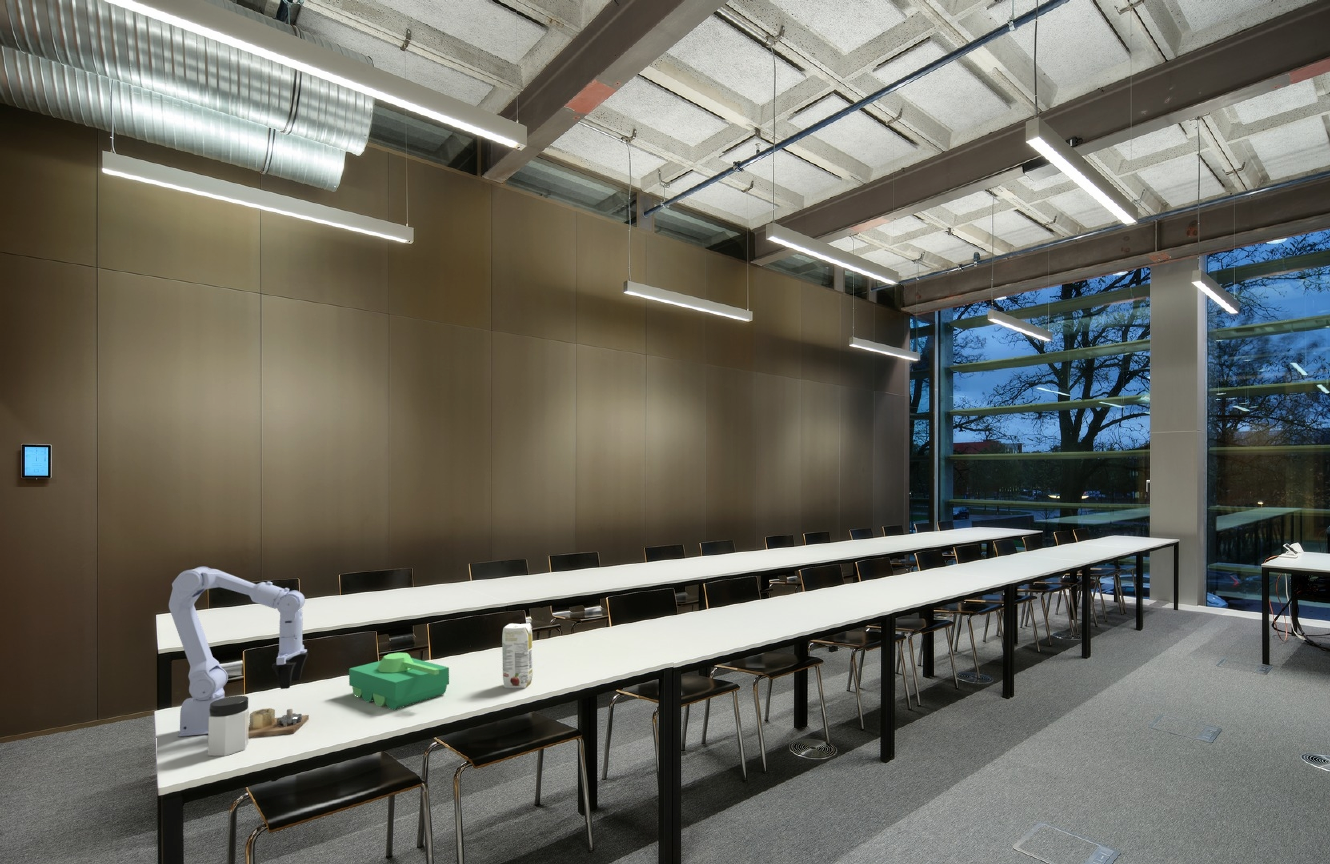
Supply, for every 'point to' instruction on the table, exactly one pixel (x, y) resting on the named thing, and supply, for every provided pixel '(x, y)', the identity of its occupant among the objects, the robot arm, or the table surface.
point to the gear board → (275, 729)
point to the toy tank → (398, 680)
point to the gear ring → (262, 719)
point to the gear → (289, 720)
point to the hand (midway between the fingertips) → (290, 684)
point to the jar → (228, 726)
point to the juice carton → (517, 655)
